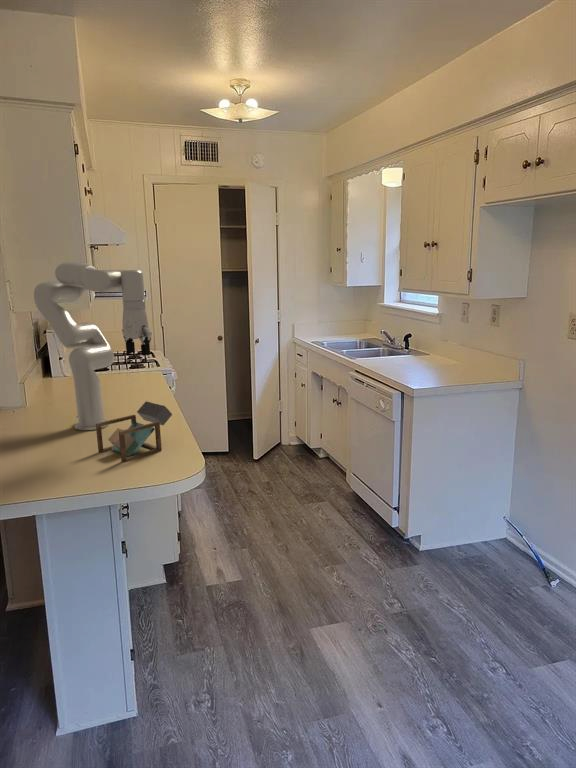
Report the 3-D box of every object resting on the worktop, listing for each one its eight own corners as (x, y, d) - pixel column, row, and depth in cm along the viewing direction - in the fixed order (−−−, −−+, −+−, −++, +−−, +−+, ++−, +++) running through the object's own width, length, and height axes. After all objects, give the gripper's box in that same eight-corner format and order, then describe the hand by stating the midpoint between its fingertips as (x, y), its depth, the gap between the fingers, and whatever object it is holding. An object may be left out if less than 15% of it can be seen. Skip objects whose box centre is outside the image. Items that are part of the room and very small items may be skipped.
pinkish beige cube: (117, 448, 186) (107, 439, 183) (126, 437, 188) (117, 428, 185) (125, 451, 182) (115, 442, 179) (134, 440, 185) (125, 430, 182)
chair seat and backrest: (116, 453, 189) (108, 445, 186) (153, 409, 198) (145, 401, 195) (134, 460, 181) (126, 452, 179) (172, 414, 190) (165, 406, 188)
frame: (98, 452, 186) (95, 423, 184) (136, 441, 197) (133, 414, 195) (123, 462, 176) (120, 432, 174) (161, 450, 186) (159, 422, 184)
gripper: (111, 305, 197) (116, 353, 201) (138, 307, 186) (142, 357, 189) (130, 304, 203) (134, 350, 206) (157, 305, 191) (161, 354, 195)
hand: (138, 354), depth 198 cm, fingers open, 9 cm apart
